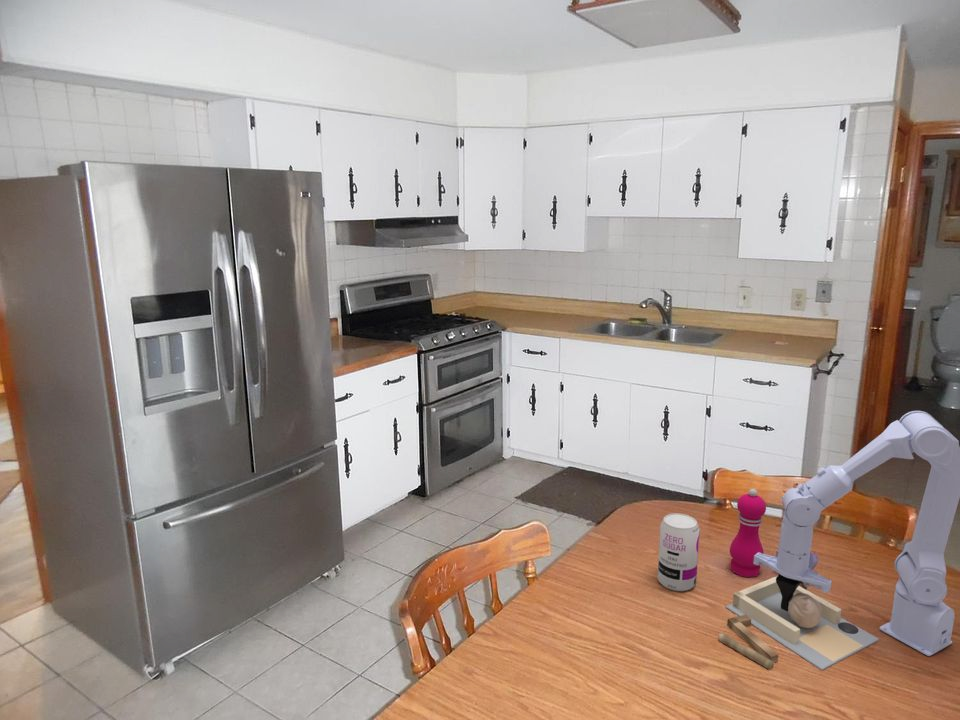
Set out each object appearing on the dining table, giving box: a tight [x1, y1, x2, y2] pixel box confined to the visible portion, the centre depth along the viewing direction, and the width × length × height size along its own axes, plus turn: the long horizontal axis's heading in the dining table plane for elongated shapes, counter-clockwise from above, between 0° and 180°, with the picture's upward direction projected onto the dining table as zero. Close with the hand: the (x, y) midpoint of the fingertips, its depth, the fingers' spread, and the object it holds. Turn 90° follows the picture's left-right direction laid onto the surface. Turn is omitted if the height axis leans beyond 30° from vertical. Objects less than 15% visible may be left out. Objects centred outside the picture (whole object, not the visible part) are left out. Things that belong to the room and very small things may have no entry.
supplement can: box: [657, 512, 701, 592], centre depth 148 cm, size 8×8×15 cm
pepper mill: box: [729, 488, 767, 578], centre depth 152 cm, size 7×7×20 cm
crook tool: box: [726, 615, 779, 663], centre depth 130 cm, size 12×4×2 cm, turn 19°
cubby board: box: [725, 575, 880, 671], centre depth 135 cm, size 22×17×3 cm
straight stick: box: [718, 633, 775, 671], centre depth 127 cm, size 11×2×2 cm
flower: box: [775, 549, 819, 590], centre depth 150 cm, size 9×8×10 cm
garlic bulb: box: [788, 593, 822, 628], centre depth 133 cm, size 7×6×8 cm
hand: (786, 608), depth 137 cm, fingers closed, pressing on garlic bulb
